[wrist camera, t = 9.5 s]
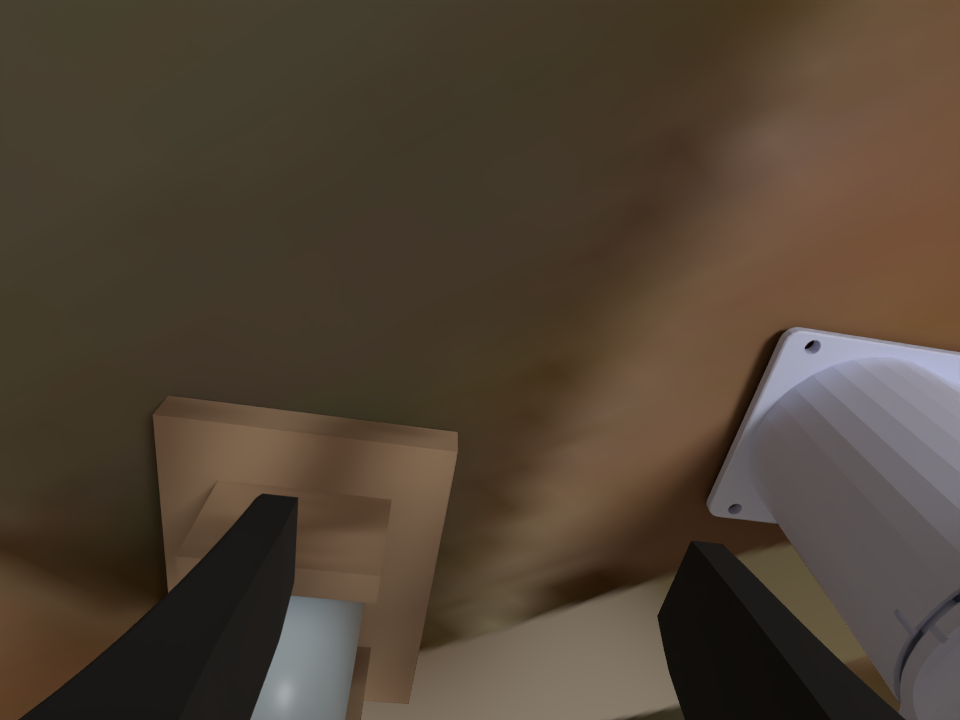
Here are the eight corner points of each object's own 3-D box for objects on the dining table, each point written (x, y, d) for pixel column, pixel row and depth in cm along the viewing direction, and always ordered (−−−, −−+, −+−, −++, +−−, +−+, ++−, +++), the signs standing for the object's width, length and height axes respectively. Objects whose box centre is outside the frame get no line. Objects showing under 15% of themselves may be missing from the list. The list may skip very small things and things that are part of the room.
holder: (457, 432, 21) (457, 524, 17) (410, 678, 28) (402, 790, 24) (168, 395, 20) (94, 484, 16) (187, 661, 27) (137, 774, 22)
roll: (375, 541, 22) (343, 732, 16) (359, 631, 24) (325, 829, 18) (236, 523, 21) (147, 715, 15) (233, 617, 24) (154, 818, 18)
